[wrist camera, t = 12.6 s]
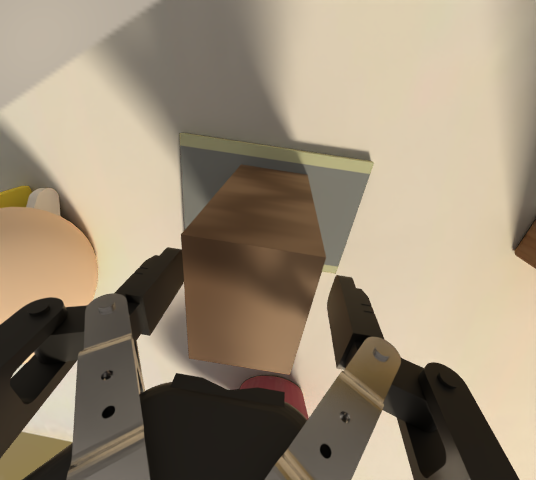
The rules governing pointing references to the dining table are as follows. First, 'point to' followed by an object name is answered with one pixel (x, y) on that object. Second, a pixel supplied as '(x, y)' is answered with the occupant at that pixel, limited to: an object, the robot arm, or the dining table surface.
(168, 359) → the dining table surface
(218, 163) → the mat
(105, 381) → the robot arm
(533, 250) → the wooden block
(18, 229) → the hamburger
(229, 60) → the dining table surface
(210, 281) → the walnut block
